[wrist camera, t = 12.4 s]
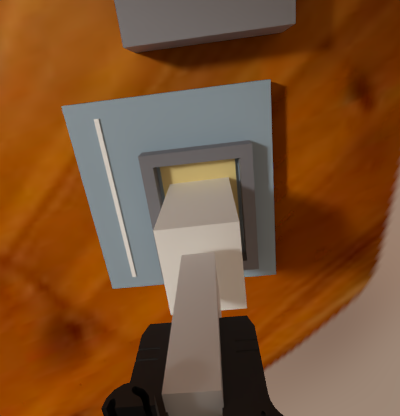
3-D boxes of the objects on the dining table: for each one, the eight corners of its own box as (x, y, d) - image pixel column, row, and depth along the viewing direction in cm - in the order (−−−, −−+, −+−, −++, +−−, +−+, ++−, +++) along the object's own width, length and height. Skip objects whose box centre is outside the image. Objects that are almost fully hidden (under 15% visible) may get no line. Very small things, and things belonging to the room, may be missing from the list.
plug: (170, 184, 20) (153, 230, 14) (228, 177, 20) (239, 221, 14) (182, 256, 23) (173, 326, 16) (235, 251, 22) (247, 320, 16)
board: (69, 105, 20) (52, 107, 18) (266, 79, 19) (274, 79, 17) (116, 279, 25) (108, 298, 23) (272, 265, 24) (279, 283, 22)
